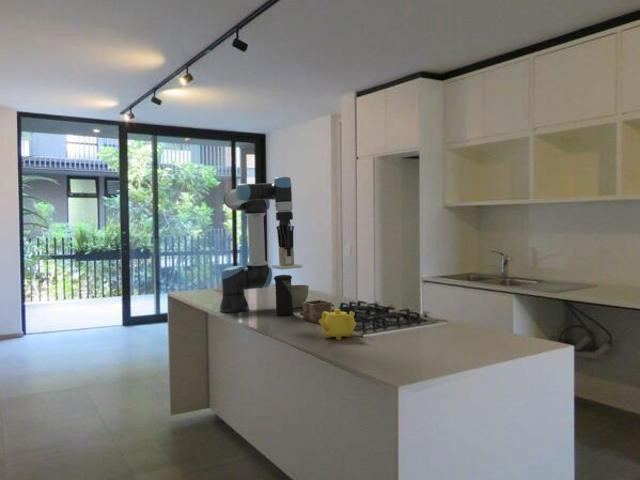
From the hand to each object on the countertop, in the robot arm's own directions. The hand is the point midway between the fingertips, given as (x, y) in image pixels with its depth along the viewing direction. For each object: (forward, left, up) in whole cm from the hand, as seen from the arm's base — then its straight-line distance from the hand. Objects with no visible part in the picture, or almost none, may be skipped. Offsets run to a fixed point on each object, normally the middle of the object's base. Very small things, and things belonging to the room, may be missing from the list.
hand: (286, 263), depth 240 cm
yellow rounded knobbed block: (+36, +4, -28) cm, 46 cm away
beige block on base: (0, 0, -2) cm, 2 cm away
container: (-22, +8, -28) cm, 36 cm away
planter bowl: (-39, +22, -28) cm, 53 cm away
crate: (-1, +15, -28) cm, 32 cm away
